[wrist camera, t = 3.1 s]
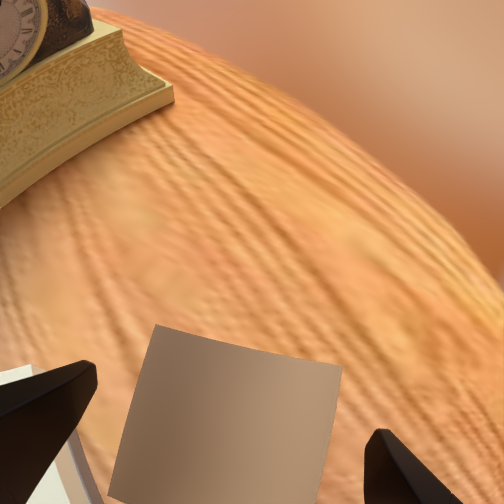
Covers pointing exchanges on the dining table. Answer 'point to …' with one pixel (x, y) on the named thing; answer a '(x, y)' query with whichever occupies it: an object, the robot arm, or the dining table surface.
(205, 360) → the walnut pillar
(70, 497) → the tower top block
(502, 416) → the dining table surface
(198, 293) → the dining table surface
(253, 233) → the dining table surface
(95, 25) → the decorative clock
